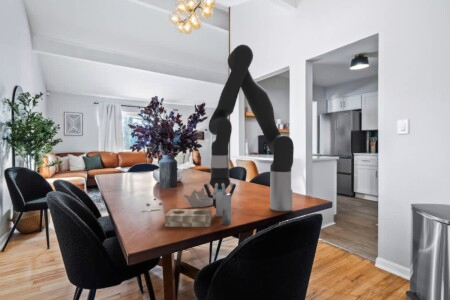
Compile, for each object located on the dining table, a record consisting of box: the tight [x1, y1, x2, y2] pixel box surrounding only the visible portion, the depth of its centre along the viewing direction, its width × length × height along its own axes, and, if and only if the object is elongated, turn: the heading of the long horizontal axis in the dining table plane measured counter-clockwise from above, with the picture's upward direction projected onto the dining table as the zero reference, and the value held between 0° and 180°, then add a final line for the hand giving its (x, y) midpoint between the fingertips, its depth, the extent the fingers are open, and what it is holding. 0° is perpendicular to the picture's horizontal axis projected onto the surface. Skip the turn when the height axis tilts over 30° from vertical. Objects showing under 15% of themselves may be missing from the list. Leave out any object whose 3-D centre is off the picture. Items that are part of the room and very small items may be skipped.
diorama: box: [145, 198, 163, 212], centre depth 115 cm, size 9×27×4 cm, turn 16°
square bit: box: [215, 189, 223, 217], centre depth 98 cm, size 3×3×11 cm
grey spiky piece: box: [183, 186, 213, 208], centre depth 115 cm, size 13×11×10 cm
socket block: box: [164, 208, 213, 228], centre depth 89 cm, size 16×8×4 cm, turn 88°
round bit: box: [222, 192, 232, 226], centre depth 88 cm, size 3×3×11 cm
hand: (220, 207), depth 98 cm, fingers closed on square bit, 3 cm apart
